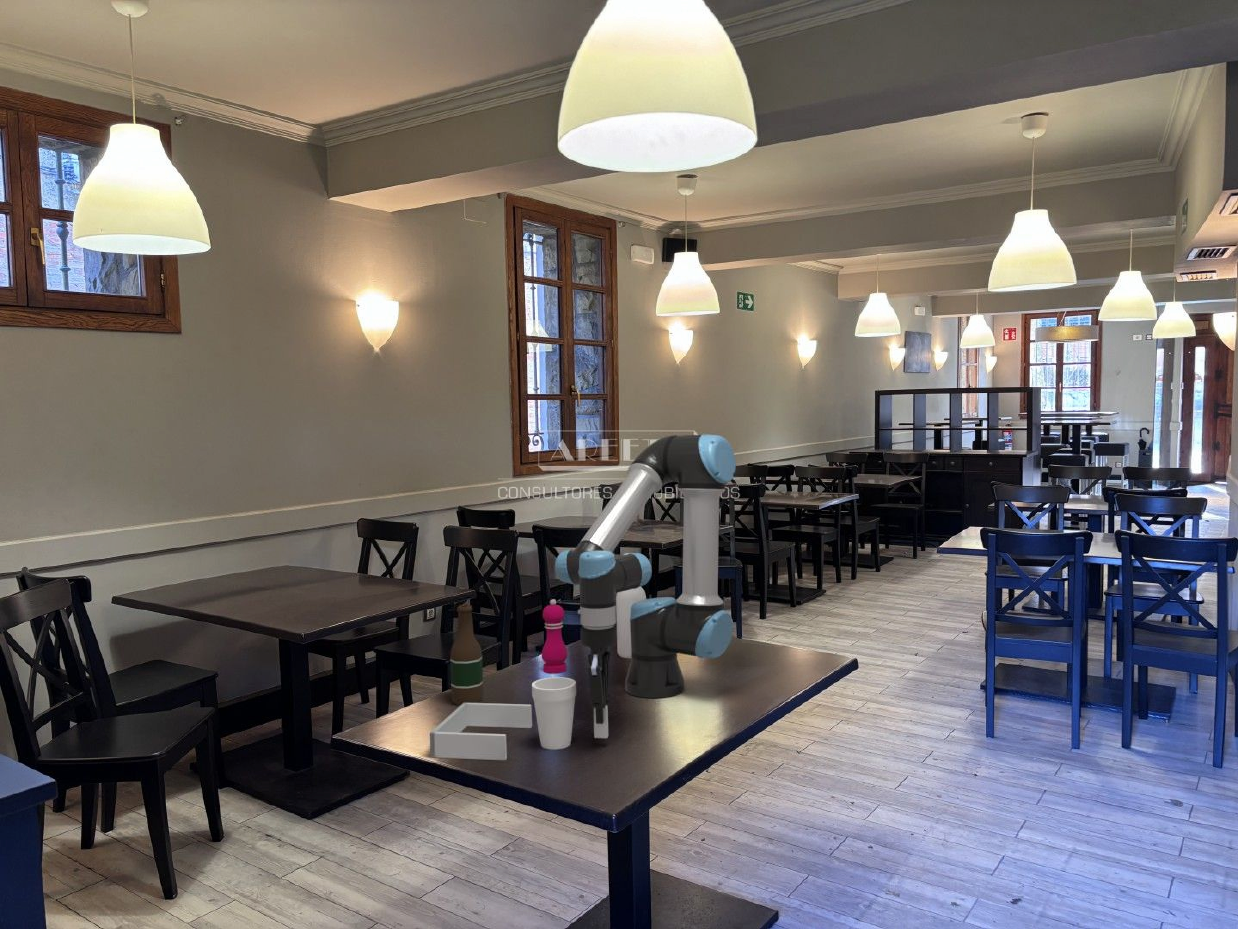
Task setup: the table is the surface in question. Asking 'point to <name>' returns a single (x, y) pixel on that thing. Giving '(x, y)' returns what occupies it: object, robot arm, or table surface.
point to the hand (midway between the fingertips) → (601, 736)
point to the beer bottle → (466, 662)
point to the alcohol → (626, 618)
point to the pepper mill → (554, 639)
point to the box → (478, 745)
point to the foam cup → (554, 710)
